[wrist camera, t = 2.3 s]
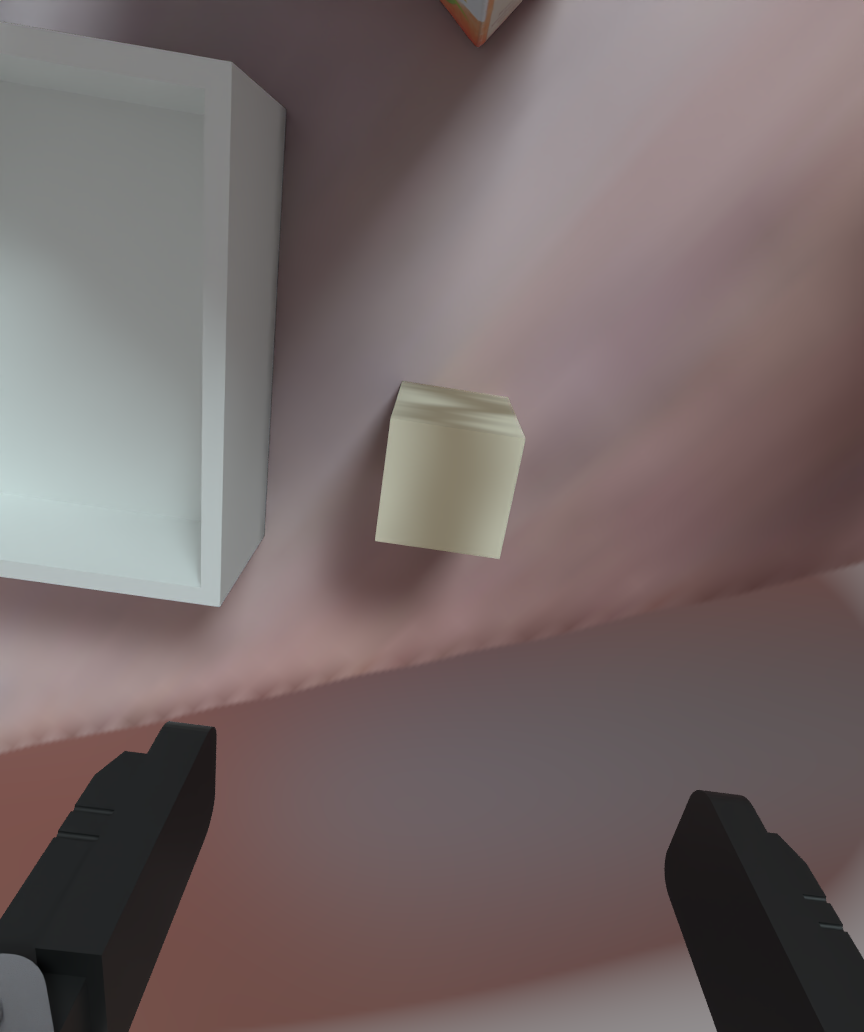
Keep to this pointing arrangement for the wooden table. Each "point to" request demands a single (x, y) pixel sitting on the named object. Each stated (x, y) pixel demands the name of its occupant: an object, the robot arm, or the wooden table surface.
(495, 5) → the cracker box
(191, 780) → the robot arm
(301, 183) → the wooden table surface
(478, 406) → the birch block
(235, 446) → the bin
